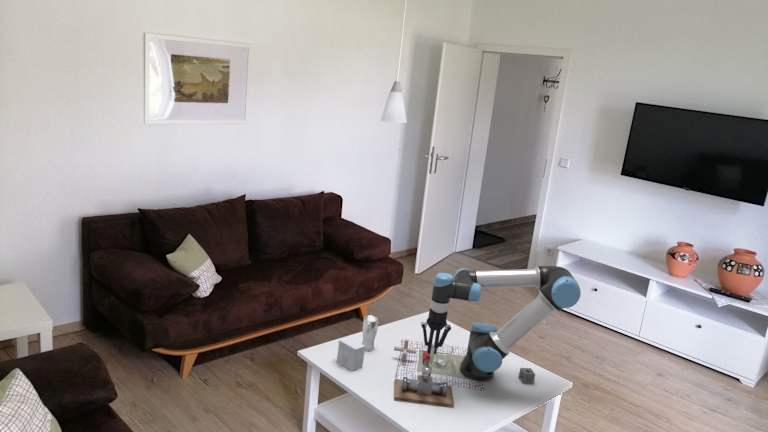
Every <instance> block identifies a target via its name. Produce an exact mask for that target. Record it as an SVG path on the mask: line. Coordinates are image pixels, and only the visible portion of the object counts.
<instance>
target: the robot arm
mask: <svg viewBox="0 0 768 432" xmlns="http://www.w3.org/2000/svg"><path fill="white" fill-rule="evenodd" d="M524 287H525V288H526V287H527V288H528V287H532V288H533V287H535V288H536V289H538V290H539V291H538V295H537V296H536V297H535V298H534V299H532V300H531V301H530V302H529V303H528V304H527V305H525V307H524V308H522V309H521V310H520V311H519V312H518V313H516V314H515V315H514V316H513V317H511V319H509V320H508V321H507V322H506V323H504V324H503V326H501V327H500V328H499V329H498V328H497V326H494V325H492V324H489V323H487V322H486V323H484V322H476V323H472V325H471V328H470V332H469V338H468V344H467V349H466V354H465V356H464V357H463V359H462V361H461V363H460V366H459V371H460V373H461V375H463V376H465V377H466V378H468V379H470V380H474V381H477V382H478V381H479V382H486V381H487V382H488V381H491V379H493V378H494V373H495V372H496V371H498V370H499V369H500V368H501V367H502V364H503V359H505V358H506V357H507V356H509V354H510V349H511V347H513V346H514V345H515V344H516V343H518V342H519V341H520V340H521V339H523V338H524V337H525V336H526V335H527V334H528V333H530V332H531V331H532V330H533V329H535V328H536V327H537V326H538V325H539V324H540V323H541V322H542V321H544V320H545V319H547V317H548V316H550V315H551V314H552V313H553V312H555V313H556V312H557V313H558V312H560V311H562V310H563V309H568V308H569V309H570V308H572V307H574V306H575V305H577V303H578V302H579V300H580V298H581V293H582V291H581V287H580V285H579V282H578V281H577V280H576V278H574V276H573V275H572V273H571V272H570V271H569V270H568V269H567V268H564V267H563V266H558V265H557V266H556V265H540V266H538V265H537V266H535V267H534V268H521V269H517V268H515V269H498V270H497V269H493V270H491V269H490V270H489V269H488V270H470V269H469V268H465V267H464V268H463V267H462V268H459V269H457V270H456V272H455V273H454V276H453V275H452V274H451V273H447V272H438V273H437V274H436V275H435V277H434V280H433V286H432V293H431V300H430V305H429V311H428V316H427V317H428V318H427V319H426V321H421V322H420V324H421V328H422V333H423V342H424V346H425V347H427V349H426V350H427V352H428V354H429V356H430V360H429V363H433V361H434V360H433V359H434V355H436V354H437V351H438V348H439V347H440V348H442V347H443V344H444V343H445V340H446V338H447V337H448V334H449V332H450V331H451V330H452V326H451V325H450V324H448V322H447V318H448V311H449V306H450V300H451V299H454V300H461V301H466V302H467V301H468V302H476V303H477V302H479V301H480V300H481V295H482V289H490V288H491V289H492V288H493V289H494V288H495V289H496V288H524ZM427 327H428V328H429V329H430V331H429V337H428V333H427ZM442 330H443V332H442V335H440V334H441V331H442ZM434 335H435V338H434ZM433 339H434V342H433Z"/></svg>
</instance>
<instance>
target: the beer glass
mask: <svg viewBox="0 0 768 432" xmlns="http://www.w3.org/2000/svg"><path fill="white" fill-rule="evenodd" d="M378 327H379V318H378V317H377V316H374V315H371V314H370V315H365V316H364V318H363V322H362V343H361V344H362V345H364V346H365V351H366V352H372V351H373V350H375V339H376V337H377V333H378V329H379V328H378ZM365 351H364V352H365Z"/></svg>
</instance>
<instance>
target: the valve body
mask: <svg viewBox="0 0 768 432" xmlns="http://www.w3.org/2000/svg"><path fill="white" fill-rule="evenodd" d="M402 380H403V382H402V391H406V390H412V391H417V394H421V395H429V396H431V393H436V394H442V396H446V394H447V385H448V381H447V382H446V381H442V382H435V381H433V376H432V375H431V376H429V377H426V376H423V375H422V374H418V376H417V379H413V378H408V376H403V377H402Z"/></svg>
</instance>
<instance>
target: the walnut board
mask: <svg viewBox="0 0 768 432" xmlns="http://www.w3.org/2000/svg"><path fill="white" fill-rule="evenodd" d="M402 382H403V379H400V378H394V382H393V383H394V390H393V394H394V395H393V400H394V401H397V402H407V403H414V404H420V405H421V404H422V405H430V406H437V407H446V408H452V409H453V408H454V406H455V401H454V397H453V394H454V393H453V388H452V385H448V384H447V394H446V396H442V394H436V393H431V396H429V395H421V394H417V391H412V390H406V391H402Z"/></svg>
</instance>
